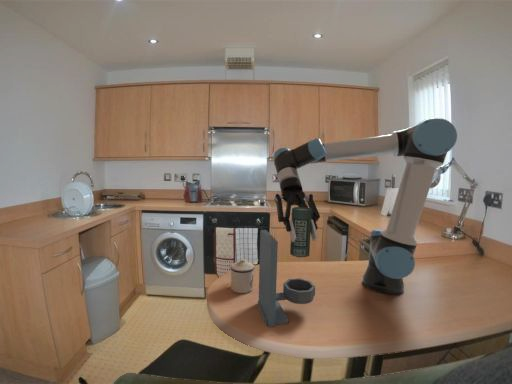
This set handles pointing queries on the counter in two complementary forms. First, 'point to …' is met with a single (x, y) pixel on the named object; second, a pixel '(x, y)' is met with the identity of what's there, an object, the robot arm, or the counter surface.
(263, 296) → the cup bracket
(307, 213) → the can
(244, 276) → the teacup with lid
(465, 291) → the counter surface
